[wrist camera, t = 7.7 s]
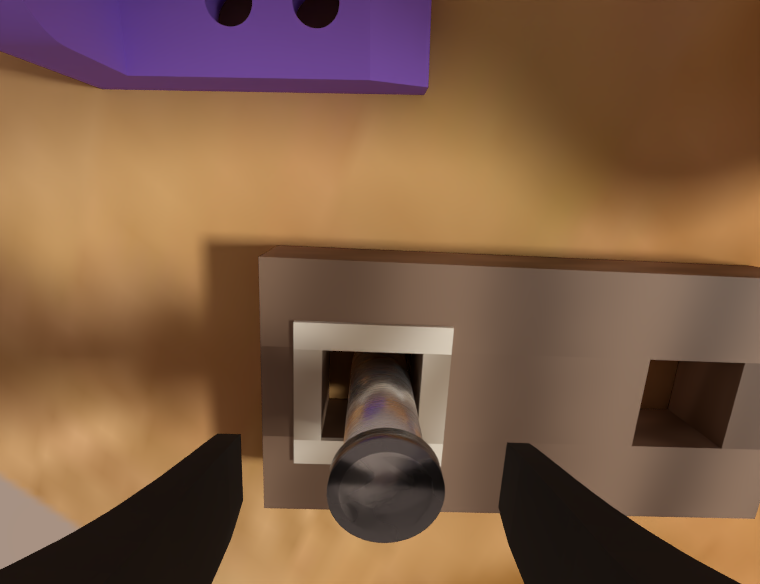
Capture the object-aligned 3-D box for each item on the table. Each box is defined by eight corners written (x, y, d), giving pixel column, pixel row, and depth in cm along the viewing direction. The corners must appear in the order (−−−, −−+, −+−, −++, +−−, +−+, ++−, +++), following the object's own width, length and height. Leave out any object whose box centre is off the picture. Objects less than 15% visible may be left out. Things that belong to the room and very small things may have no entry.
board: (752, 266, 18) (834, 282, 14) (698, 470, 20) (759, 522, 17) (277, 245, 17) (257, 257, 14) (280, 459, 19) (262, 511, 16)
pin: (423, 346, 18) (464, 464, 10) (397, 404, 19) (416, 556, 11) (359, 322, 18) (352, 425, 10) (334, 382, 18) (309, 522, 11)
